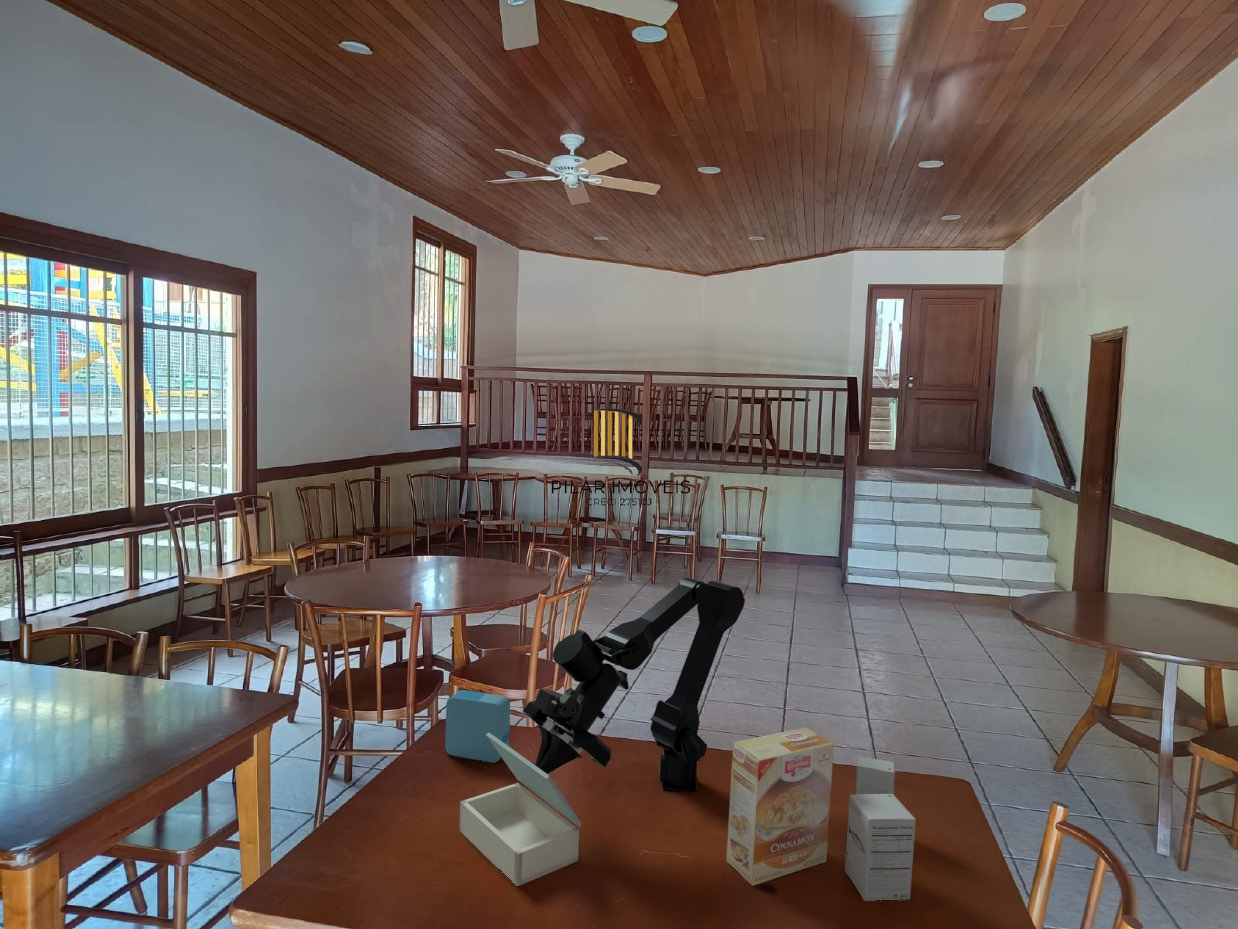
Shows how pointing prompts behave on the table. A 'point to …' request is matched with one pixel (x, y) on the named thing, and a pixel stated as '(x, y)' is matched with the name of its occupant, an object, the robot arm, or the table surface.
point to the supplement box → (880, 847)
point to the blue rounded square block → (476, 724)
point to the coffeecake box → (779, 804)
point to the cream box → (519, 833)
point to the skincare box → (874, 776)
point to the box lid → (534, 779)
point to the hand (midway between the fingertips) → (534, 778)
